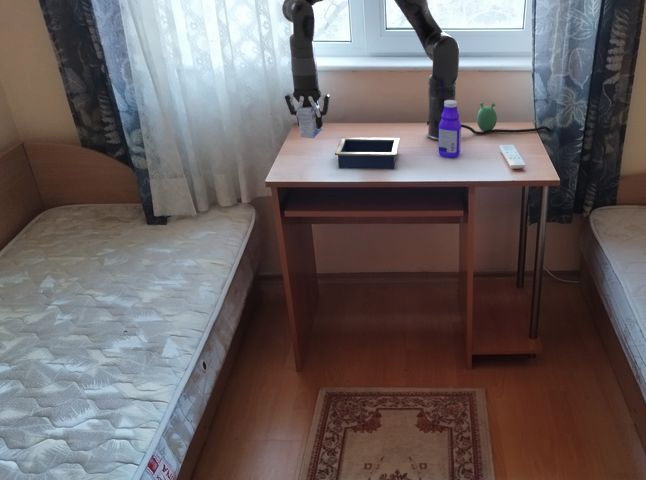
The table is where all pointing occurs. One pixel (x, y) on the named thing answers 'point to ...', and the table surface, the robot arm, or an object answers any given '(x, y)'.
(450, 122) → the bottle
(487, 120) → the alien toy
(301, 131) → the medicine box
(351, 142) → the rectangular frame
